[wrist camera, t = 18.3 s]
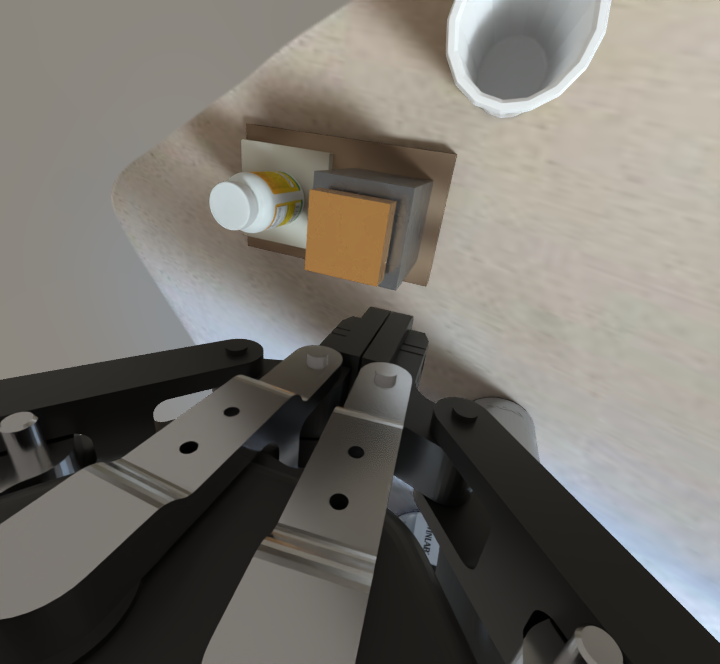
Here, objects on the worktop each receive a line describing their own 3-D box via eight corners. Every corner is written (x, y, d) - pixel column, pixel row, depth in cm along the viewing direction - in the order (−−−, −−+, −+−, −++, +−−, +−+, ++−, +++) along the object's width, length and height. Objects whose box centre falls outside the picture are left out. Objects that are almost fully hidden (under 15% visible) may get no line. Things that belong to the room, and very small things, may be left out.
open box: (417, 261, 39) (395, 290, 30) (346, 246, 41) (307, 269, 32) (433, 180, 35) (414, 188, 27) (355, 167, 37) (314, 170, 29)
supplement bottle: (310, 220, 40) (263, 236, 32) (267, 225, 42) (212, 241, 33) (300, 166, 38) (247, 168, 30) (256, 174, 40) (194, 177, 31)
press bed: (427, 282, 41) (424, 289, 39) (254, 243, 46) (243, 247, 44) (457, 154, 35) (454, 154, 33) (254, 124, 40) (240, 122, 38)
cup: (561, -3, 29) (614, -123, 16) (566, 113, 31) (614, 85, 19) (455, 39, 32) (432, -36, 19) (468, 141, 34) (455, 132, 22)
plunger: (408, 251, 38) (376, 286, 28) (353, 240, 39) (304, 269, 29) (419, 190, 35) (390, 204, 25) (361, 180, 37) (309, 189, 26)
